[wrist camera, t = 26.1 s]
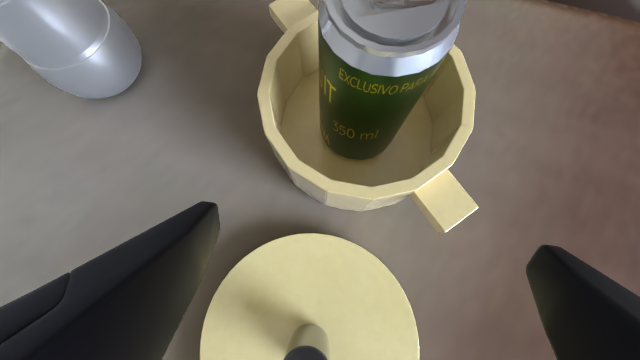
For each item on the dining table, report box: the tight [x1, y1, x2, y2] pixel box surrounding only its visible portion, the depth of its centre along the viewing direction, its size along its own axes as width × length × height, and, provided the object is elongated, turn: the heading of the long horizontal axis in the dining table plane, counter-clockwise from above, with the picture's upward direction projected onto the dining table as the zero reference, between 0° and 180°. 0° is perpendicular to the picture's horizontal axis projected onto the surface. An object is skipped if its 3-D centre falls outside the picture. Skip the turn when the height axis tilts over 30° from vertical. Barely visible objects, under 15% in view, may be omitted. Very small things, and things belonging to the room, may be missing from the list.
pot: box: [257, 0, 479, 233], centre depth 20 cm, size 12×18×6 cm
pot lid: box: [200, 233, 419, 360], centre depth 17 cm, size 13×13×6 cm
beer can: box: [318, 0, 466, 160], centre depth 16 cm, size 5×5×12 cm
